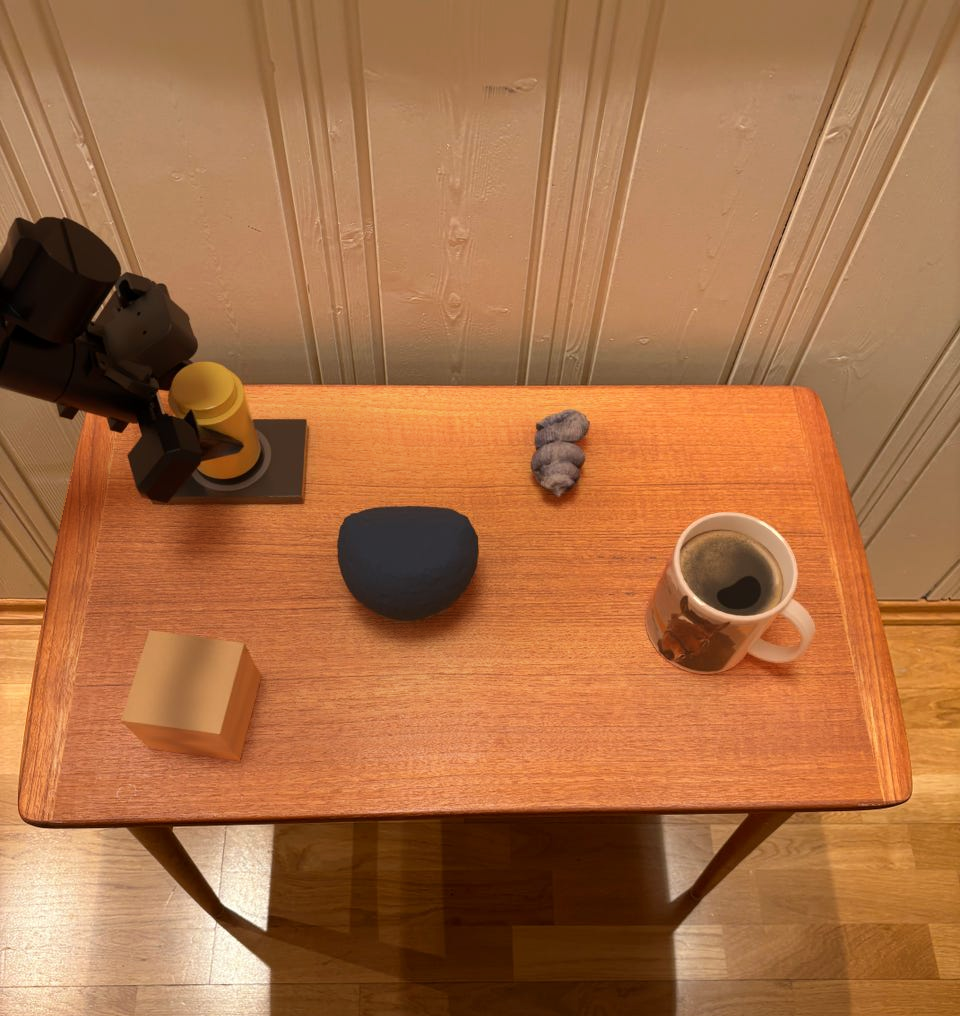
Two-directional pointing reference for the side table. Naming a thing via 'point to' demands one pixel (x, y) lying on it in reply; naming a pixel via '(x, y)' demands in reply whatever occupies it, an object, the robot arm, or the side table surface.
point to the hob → (258, 471)
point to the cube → (192, 695)
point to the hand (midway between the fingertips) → (231, 419)
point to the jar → (217, 413)
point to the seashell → (559, 451)
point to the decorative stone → (407, 559)
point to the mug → (726, 596)
